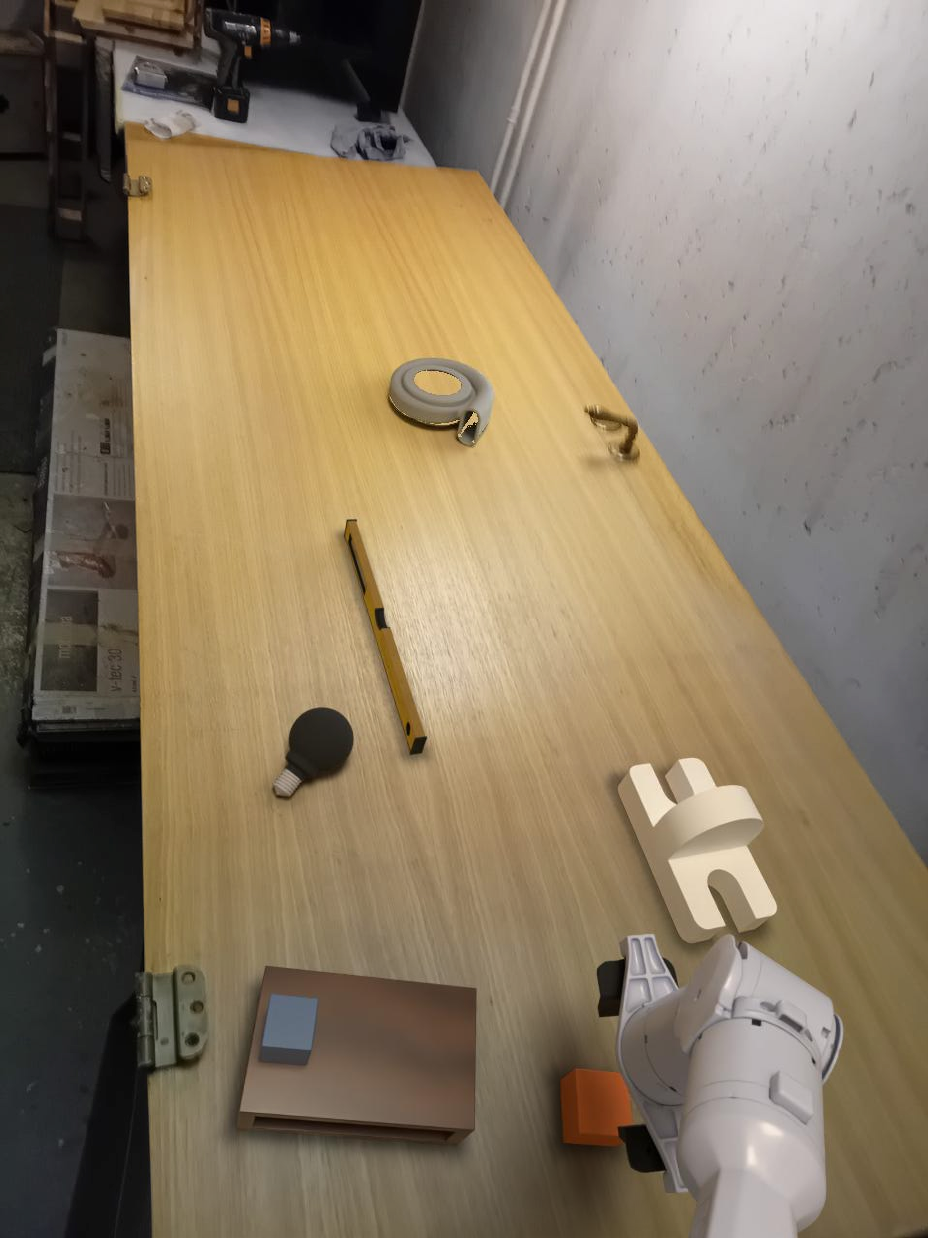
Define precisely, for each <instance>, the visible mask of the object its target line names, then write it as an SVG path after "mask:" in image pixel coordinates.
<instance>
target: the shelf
mask: <svg viewBox="0 0 928 1238" xmlns="http://www.w3.org/2000/svg"><path fill="white" fill-rule="evenodd" d="M261 981H262V982H261V987H260V993H259V998H258V1002H257V1003H258V1004H257V1010H256V1015H255V1020H254V1026H253V1031H252V1036H251V1042H250V1048H249V1052H248V1059H247V1064H246V1068H245V1069H246V1070H245V1075H244V1080H243V1085H242V1090H241V1097H240V1101H239V1107H238V1113H237V1120H236V1130H240V1131H256V1132H266V1133H267V1132H269V1133H281V1134H293V1135H294V1134H295V1135H308V1136H319V1137H320V1136H321V1137H334V1138H345V1139H346V1138H347V1139H349V1138H350V1139H360V1140H362V1139H363V1140H374V1141H389V1142H402V1143H412V1144H413V1143H415V1144H416V1143H417V1144H428V1145H442V1146H455V1147H456V1146H458V1145H459V1144H460V1143H462V1141H464V1140H465V1139H466V1138H467V1137H468V1136H469V1135H471V1134H472V1133H473V1132H474V1131H475V1130H476V1073H477V1072H476V1070H477V1069H476V1067H477V1065H476V1064H477V1063H476V1062H477V1061H476V1060H477V1056H476V1055H477V987H472V986H461V985H451V984H443V983H433V982H422V981H414V980H405V979H395V978H386V977H377V976H366V975H359V974H347V973H340V972H339V973H337V972H328V971H319V970H311V969H301V968H290V967H282V966H271V965H265V966H264V971H263V978H262V980H261ZM270 994H278V995H288V996H298V997H308V998H318V999H319V1002H318V1009H317V1016H316V1024H315V1031H314V1038H313V1046H312V1051H311V1054H310V1057H309V1060H308V1063H307V1065H296V1064H284V1063H273V1062H262V1061H259V1055H260V1049H261V1044H262V1038H263V1032H264V1027H265V1021H266V1015H267V1010H268V1004H269V998H270Z"/></svg>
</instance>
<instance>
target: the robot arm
mask: <svg viewBox="0 0 928 1238" xmlns="http://www.w3.org/2000/svg"><path fill="white" fill-rule="evenodd" d="M618 946H619V951H620V955H621V957H622V958H619V959H618V960H607V961H603V962H601V964H600V965H598V967H597V968H596V979H597V984H598V985H597V986H598V991H599V999H598V1003H597V1008H596V1009H597V1014H598V1018H611V1017H618V1020H617V1027H616V1034H615V1041H614V1042H615V1044H614V1054H615V1062H616V1065H617V1068H618V1071H619V1073H620V1074H621V1076H622V1078H623V1080H624V1082H625V1084H626V1086H627V1088H628V1090H629V1094H630V1097H631V1099H632V1100H633V1103H634V1105H635V1106H636V1109H637V1110H638V1113H639V1115H640V1117H641V1119H642V1121H643V1123H639V1124H633V1125H628V1126H618V1127H617V1128H618V1134H619V1138H620V1139H621V1140H622V1141H623V1143H624V1145H625V1150H626V1151H625V1152H626V1158H627V1161H628V1164H629V1167H630V1168H631V1169H632V1170H634V1171H636V1172H638V1173H641V1174H649V1173H657V1172H663V1173H662V1180H663V1186H664V1192H665V1193H666V1194H686V1193H690V1195H691V1196H692V1198H693V1199H694V1200H695V1202H696V1205H695V1211H694V1214H693V1219H692V1223H691V1227H690V1232H689V1235H688V1238H798V1233H801V1232H803V1231H804V1230H805V1229H807V1228H809V1226H811V1225H812V1224H813V1223H815V1221H816V1220H817V1219H818V1218H819V1217H820V1215H821V1213H822V1211H823V1209H824V1207H825V1204H826V1200H827V1175H826V1174H827V1172H826V1171H827V1170H826V1145H825V1143H826V1142H825V1119H824V1116H825V1115H824V1093H823V1091H824V1090H823V1086H824V1085H825V1083H826V1082H827V1080H828V1079H829V1077H830V1075H831V1073H832V1071H833V1069H834V1068H835V1066H836V1063H837V1060H838V1058H839V1055H840V1051H841V1048H842V1044H843V1039H844V1024H843V1021H842V1018H841V1017H840V1015H838V1014H837V1013H835V1009H834V1004H833V1001H832V999H831V998H830V996H828V995H826V994H825V993H823V992H822V991H820V990H819V989H817V988H816V987H814V986H813V985H811V984H809V983H808V982H806V981H805V980H804V979H803V978H801V977H799V976H797V974H795V973H793V972H792V971H790V970H788V969H787V968H785V967H784V966H782V965H781V964H779V963H778V962H777V961H775V960H774V959H771V958H770V957H769V956H767V955H765V953H764V952H761V951H760V950H758V949H757V948H755V947H754V946H752V945H751V944H749V942H747V941H739V942H736V938H735V936H734V935H733V934H731V933H728V934H725V935H723V936H722V937H721V938H719V939H718V940H717V941H716V942H715V943H714V944H713V945H712V946H711V947H710V948H709V950H708V951H707V953H706V954H705V955H704V956H703V958H702V960H701V961H700V963H699V964H697V967H696V968H695V970H694V972H693V974H692V975H691V977H690V978H689V981H688V982H687V983H686V984H685V985H683V986H681V987H680V986H679V983H678V978H677V972H676V969H675V966H674V965H673V963H672V962H671V961H670V960H669V959H667V958H666V957H663V956H662V955H661V952H660V950H659V946H658V943H657V940H656V935H655V934H654V933H650V934H649V933H648V934H647V933H646V934H634V935H631V934H630V935H627V936H625V937H624V938H622V939H621V940H620V941H619V942H618Z"/></svg>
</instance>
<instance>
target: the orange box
mask: <svg viewBox="0 0 928 1238" xmlns="http://www.w3.org/2000/svg"><path fill="white" fill-rule="evenodd" d="M559 1084H560V1085H559V1086H560V1103H561V1105H560V1106H561V1124H562V1126H561V1127H562V1142H563V1143H564V1144H572V1145H573V1144H575V1145H586V1146H587V1145H588V1146H600V1147H601V1146H602V1147H614V1148H616V1147H618V1146H620V1145H621V1144H623V1143H624V1142H623V1141H622V1140H621V1139H620V1138H619V1134H618V1128H617V1127H618V1126H628V1125H634V1123H633V1115H632V1114H633V1113H632V1105H631V1094H630V1092H629V1090H628V1088H627V1086H626V1084H625V1082H624V1080H623V1078H622V1076H621V1074H620V1072H617V1071H605V1070H597V1069H596V1070H595V1069H585V1068H575V1069H573V1070H571V1072H569V1073H568V1074H567V1075H566V1076H564V1077H563V1078H562V1079H560V1081H559Z"/></svg>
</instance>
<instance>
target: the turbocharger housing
mask: <svg viewBox="0 0 928 1238" xmlns="http://www.w3.org/2000/svg"><path fill="white" fill-rule="evenodd" d="M426 370H427V371H439V372H444V373H447V374H450V375H452V376H454V377H456V378H457V379H459V381H460V382H461V389H460V390H459V391H458V392H457V393H454V394H451V395H436V394H432V393H428V392H426V391H424V390H422V389H420V388H419V387H418V386H417V385H416V384H415V382H414V377H415V375H416V374H417V373H419V372H421V371H426ZM389 392H390V397H391V399H392V401H393V403H394V404H395V406H396V407H397V408H398V409H399V410H400V411H401V412H403V413H405V414H406V415H408V416H410V417H412V418H414V419H416V420H415V421H416V422H418V423H422V424H424V425H428V426H435V427H449V426H450V425H435V424H441V423H449V422H453V421H456V420H460V422H458V423H456V424H458V428H457V433H458V434H461V432H462V429H463V427H464V426H465V424H466V423H467V422H468V420H469V419H470V417H471V416H472V414H473V412H474V413H476V414H477V417H478V422H477V423H475V422H474V423H473V425H468V426H469V427H468V426H467V428H466V429H465V430H464V432H463V433H462V434H461V436H462V437H458V436H457V439H458V440H459V442H460V443H461V444H463V445H464V446H468V447H470V446H474V445H475V444H474V443H473V442H472V441H473V440H474V442H476V443H478V440H479V437H480V436H479V435H481V434H482V433H483V432H484V430H485V429H486V428H487V426H488V425H489V423H488V422H490V420H491V415H492V410H493V406H494V401H495V391H494V388H493V385H492V383H491V381H490V380H489V379H488V377H486V376H485V374H483V373H482V372H481V371H479V370H478V369H476V368H474V367H472V366H471V365H468V364H467V363H466V364H465V363H463V362H461V361H457V360H454V359H448V358H442V357H421V358H415V359H411V360H408V361H406V362H404V363H402V364H400V365H399V366H398V367H397V368H396V369H395V370H394V371H393V372H392V374H391V377H390V380H389V390H388V393H389ZM394 408H395V407H394ZM395 410H397V409H396V408H395ZM414 419H413V420H414ZM489 419H490V420H489ZM417 420H419V421H417ZM420 421H422V422H420ZM425 422H426V423H425ZM430 423H434V424H430ZM456 424H455V425H456ZM475 424H476V425H475ZM487 424H488V425H487ZM453 425H454V424H452V425H451V426H453ZM486 425H487V426H486ZM470 426H471V427H470ZM485 427H486V428H485ZM484 428H485V429H484ZM482 431H483V432H482Z"/></svg>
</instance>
